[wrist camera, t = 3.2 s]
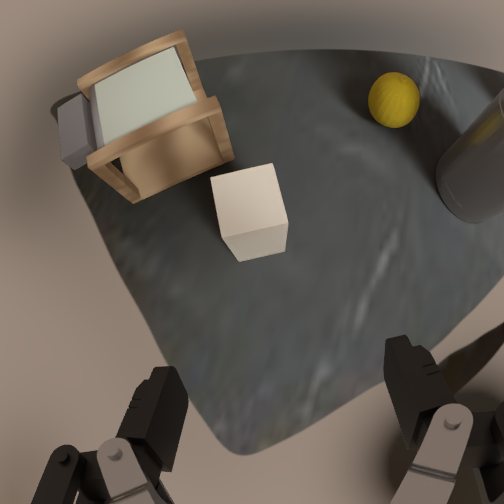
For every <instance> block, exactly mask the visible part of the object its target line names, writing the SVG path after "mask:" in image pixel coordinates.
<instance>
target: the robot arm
mask: <svg viewBox="0 0 504 504" xmlns="http://www.w3.org/2000/svg"><path fill="white" fill-rule="evenodd" d="M435 176H436V184H437V188H438V191H439V193H440V196H441V198H442V200H443V201H444V203H445V205H446V206H447V207H448V208H449V210H450V211H451V212H452V213H453V214H454V215H456V216H457V217H458V218H460V219H462V220H463V221H466V222H469V223H480V222H483V221H485V220H487V219H489V218H491V217H493V216H495V215H497V214H499V213H501V212H503V211H504V87H503V89H502V90H501V91H500V92H499V94H498V95H497V96H496V97H495V98H494V99H493V101H492V102H491V103H490V104H489V105H488V106H487V107H486V109H485V110H484V111H483V112H482V113H481V114H480V115H479V116H478V118H477V119H476V120H475V121H474V122H473V123H472V124H471V125H470V126H469V128H468V129H467V130H466V131H465V132H464V133H463V134H462V135H461V136H460V137H459V138H458V140H456V142H455V143H454V144H453V145H452V146H451V147H450V148H449V149H448V150H447V151H446V152H445V153H444V154H443V155H442V157H441V158H440V159H439V161H438V163H437V166H436V173H435ZM384 379H385V383H386V386H387V388H388V392H389V394H390V397H391V400H392V403H393V406H394V409H395V412H396V415H397V418H398V421H399V424H400V428H401V431H402V434H403V437H404V440H405V444H406V447H407V450H411V449H415V448H417V451H418V453H417V455H416V457H415V459H414V461H413V464H412V466H411V467H410V468H409V470H408V472H407V474H406V476H405V478H404V480H403V481H402V483H401V485H400V487H399V489H398V490H397V492H396V494H395V496H394V498H393V499H392V501H391V503H390V504H446V503H447V501H448V499H449V496H450V494H451V492H452V489H453V487H454V484H455V481H456V477H455V476H456V473H457V470H458V469H471V468H473V471H474V474H475V478H476V481H477V484H478V488H479V492H480V496H481V500H482V504H504V402H502V403H501V404H500V405H499V406H498V408H497V410H496V411H491V412H479V413H475V412H470V410H469V409H467V408H466V407H465V406H463V405H460V404H457V402H456V400H455V399H454V396H453V394H452V392H451V391H450V389H449V387H448V385H447V383H446V381H445V379H444V377H443V375H442V373H440V369H439V368H438V366H437V364H436V363H435V360H434V359H433V357H432V355H431V353H430V352H429V351H428V350H426V349H425V348H424V347H422V346H421V345H418V346H414V347H412V345H411V343H410V341H409V339H408V337H407V336H406V335H402V336H397V337H393V338H388V339H386V342H385V356H384ZM187 409H188V394H187V391H186V389H185V387H184V385H183V383H182V381H181V379H180V377H179V374H178V372H177V370H176V368H175V367H173V366H165V367H155V368H154V369H153V371H152V373H151V376H150V378H149V380H144V381H143V382H142V383H141V384H140V385H139V386H138V387H137V388H136V390H135V392H134V395H133V397H132V401H131V402H130V404H129V409H127V411H126V413H125V416H124V418H123V421H122V423H121V426H120V428H119V430H118V433H117V435H116V437H115V438H112V439H109V440H107V441H106V442H104V443H103V444H102V445H101V446H100V447H99V449H98V450H96V451H89V452H82V453H79V451H78V450H77V449H76V448H75V447H74V446H72V445H62V446H60V447H58V448H57V449H55V450H54V451H53V453H52V454H51V456H50V459H49V461H48V463H47V466H46V468H45V470H44V473H43V475H42V478H41V480H40V482H39V485H38V487H37V490H36V492H35V495H34V497H33V500H32V503H31V504H73V502H74V499H75V496H76V493H77V491H78V492H79V495H78V498H77V501H76V504H175V503H174V502H173V500H172V498H171V497H170V495H169V493H168V492H167V490H166V488H165V487H164V485H163V483H162V481H161V480H160V478H159V477H160V473H161V471H165V472H172V468H173V464H174V460H175V456H176V452H177V448H178V444H179V440H180V436H181V432H182V428H183V424H184V420H185V416H186V413H187Z"/></svg>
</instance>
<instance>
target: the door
mask: <svg viewBox="0 0 504 504" xmlns="http://www.w3.org/2000/svg"><path fill="white" fill-rule="evenodd" d="M88 90H89V98H90V103H89V102H88V101H87V100H86V98H85V97H84V96H83V95H82V94H80V95H78V96H76V97H75V98H73V99H71V100H70V101H68V102H66V103H65V104H63V105H62V106H60V107H59V108H58V127H59V141H60V151H61V160H62V161H63V162H65V163H66V164H67V165H68V166H70V167H71V168H72V169H74V170H76V169H78V168H79V167H81V166H83V165H85V164H86V163H87V159H86V156H88V155H90V154H92V153H93V152H95V151H97V150H99V149H101V148H102V147H104V146H106V145H108V144H110V143H112V142H113V141H115V140H117V139H119V138H121V137H123V136H125V135H127V134H129V133H131V132H133V131H135V130H137V129H139V128H141V127H143V126H145V125H147V124H149V123H152V122H154V121H156V120H158V119H160V118H162V117H165V116H167V115H169V114H171V113H174V112H176V111H178V110H180V109H183V108H185V107H188V106H190V105H192V104H195V103H197V100H196V97H195V95H194V93H193V90H192V88H191V86H190V84H189V81H188V79H187V77H186V74H185V72H184V70H183V68H182V65H181V63H180V61H179V58H178V56H177V54H176V52H175V49H174V47H173V48H170V49H168V50H165V51H163V52H161V53H158V54H156V55H154V56H151V57H149V58H147V59H145V60H143V61H141V62H138V63H136V64H134V65H132V66H130V67H128V68H126V69H124V70H122V71H120V72H118V73H116V74H114V75H112V76H110V77H108V78H106V79H105V80H103V81H101V82H99V83H97V84H94V85H91V86H90V87H89V89H88Z"/></svg>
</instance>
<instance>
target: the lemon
mask: <svg viewBox="0 0 504 504" xmlns="http://www.w3.org/2000/svg"><path fill="white" fill-rule="evenodd" d="M419 101H420V95H419V90H418V88H417V86H416V84H415V83H414V82H413V80H411V79H410V78H409V77H408V76H406V75H404V74H402V73H398V72H390V73H386V74H384V75H382V76H380V77H379V78H378V79H377V80H376V81H375V83H374V84H373V86H372V88H371V90H370V92H369V97H368V105H369V109H370V112H371V114H372V116H373V117H374V118H375V120H376V121H377V122H379V123H380V124H382V125H383V126H386V127H389V128H399V127H402V126H404V125H406V124H408V123H409V122H410V121H411V120H412V119H413V118H414V116H415V114H416V112H417V110H418V108H419Z"/></svg>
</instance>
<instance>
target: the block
mask: <svg viewBox="0 0 504 504" xmlns="http://www.w3.org/2000/svg"><path fill="white" fill-rule="evenodd" d="M210 179H211V184H212V190H213V195H214V200H215V206H216V211H217V216H218V221H219V226H220V231H221V236H222V239H223V240H224V242H225V243H226V244H227V246H228V247H229V249H230V250H231V251H232V253H233V254H234V255H235V257H236V258H237V260H238V261H239V262H240V261H245V260H249V259H253V258H258V257H262V256H267V255H271V254H275V253H280V252H284V251H285V246H286V238H287V230H288V220H287V216H286V212H285V208H284V204H283V200H282V196H281V193H280V189H279V185H278V181H277V178H276V174H275V170H274V167H273V163H271V164H267V165H262V166H257V167H253V168H248V169H244V170H240V171H235V172H231V173H227V174H223V175H219V176H215V177H211V178H210Z"/></svg>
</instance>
